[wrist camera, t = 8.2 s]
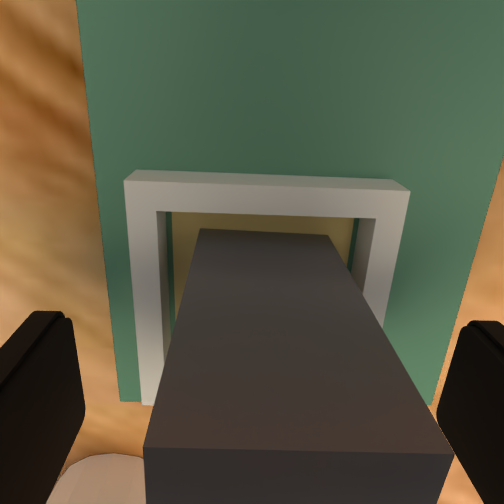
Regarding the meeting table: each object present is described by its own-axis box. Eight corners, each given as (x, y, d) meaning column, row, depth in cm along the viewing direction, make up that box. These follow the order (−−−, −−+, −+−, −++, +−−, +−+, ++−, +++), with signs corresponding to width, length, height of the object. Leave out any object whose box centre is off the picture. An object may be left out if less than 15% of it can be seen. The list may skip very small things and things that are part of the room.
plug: (200, 228, 12) (143, 446, 5) (327, 234, 13) (454, 454, 5) (197, 355, 14) (154, 649, 7) (309, 358, 14) (382, 648, 7)
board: (87, -37, 11) (44, -71, 8) (523, -10, 11) (600, -34, 9) (128, 379, 16) (109, 431, 14) (418, 383, 17) (448, 434, 14)
